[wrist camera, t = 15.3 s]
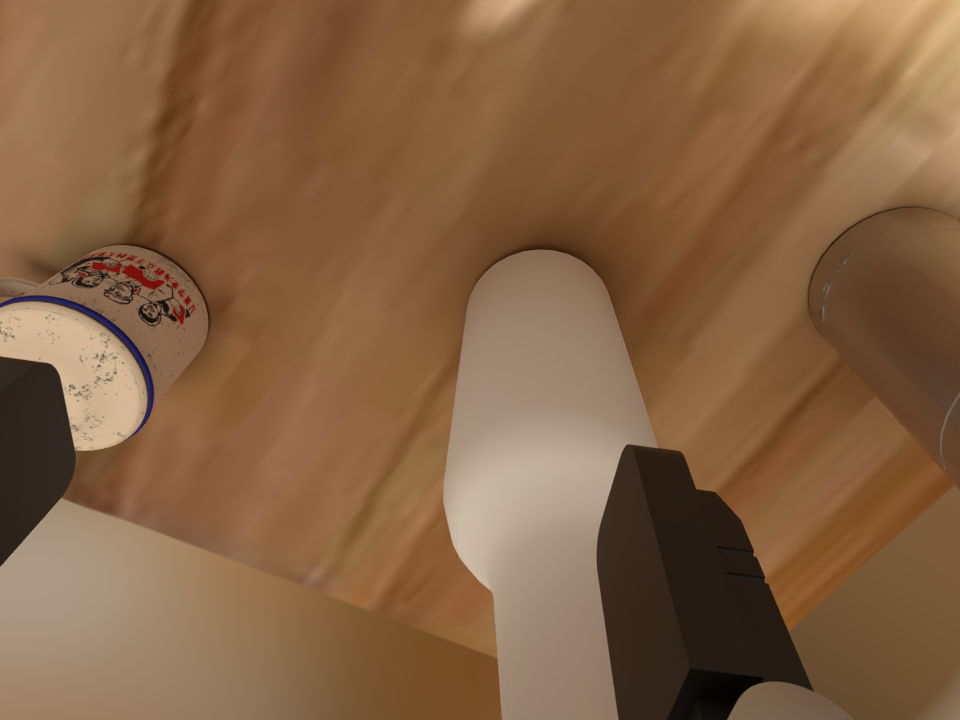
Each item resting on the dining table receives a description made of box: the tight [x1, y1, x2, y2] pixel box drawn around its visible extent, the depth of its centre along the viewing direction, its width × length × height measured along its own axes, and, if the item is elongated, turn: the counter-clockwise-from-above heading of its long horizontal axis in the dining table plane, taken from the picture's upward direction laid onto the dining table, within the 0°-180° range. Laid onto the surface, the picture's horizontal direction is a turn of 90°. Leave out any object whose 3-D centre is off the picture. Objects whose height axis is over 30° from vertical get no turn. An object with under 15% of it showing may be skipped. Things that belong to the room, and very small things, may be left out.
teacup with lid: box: [0, 245, 208, 451], centre depth 37 cm, size 12×9×12 cm
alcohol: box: [443, 250, 658, 720], centre depth 28 cm, size 9×9×30 cm
